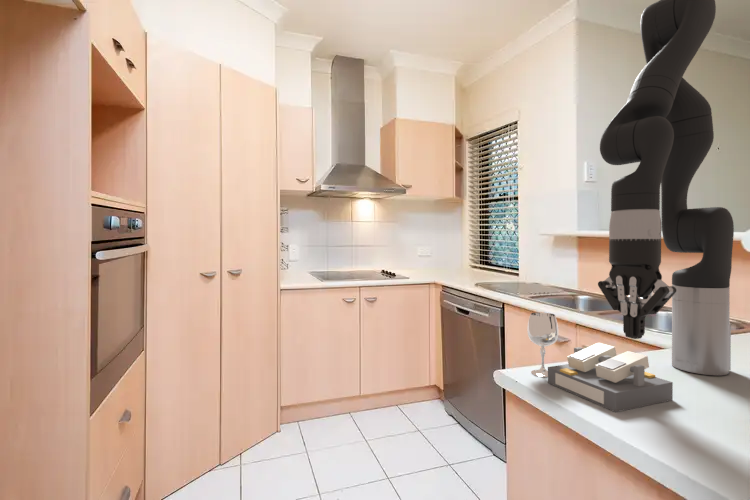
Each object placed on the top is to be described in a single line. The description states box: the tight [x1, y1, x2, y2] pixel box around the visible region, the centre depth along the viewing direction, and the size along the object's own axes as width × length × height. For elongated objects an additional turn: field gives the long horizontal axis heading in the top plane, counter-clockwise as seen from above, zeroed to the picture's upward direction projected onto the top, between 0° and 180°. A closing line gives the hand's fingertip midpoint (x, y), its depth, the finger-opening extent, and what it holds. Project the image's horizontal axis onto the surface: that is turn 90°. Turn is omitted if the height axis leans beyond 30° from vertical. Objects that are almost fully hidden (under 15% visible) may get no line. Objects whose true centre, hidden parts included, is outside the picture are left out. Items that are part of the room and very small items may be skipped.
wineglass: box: [526, 312, 559, 378], centre depth 80 cm, size 6×6×12 cm
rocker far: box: [595, 350, 650, 383], centre depth 68 cm, size 8×4×2 cm, turn 110°
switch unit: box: [547, 346, 674, 413], centre depth 70 cm, size 13×14×6 cm
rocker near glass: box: [566, 342, 618, 372], centre depth 73 cm, size 8×4×2 cm, turn 110°
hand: (633, 337), depth 69 cm, fingers closed
